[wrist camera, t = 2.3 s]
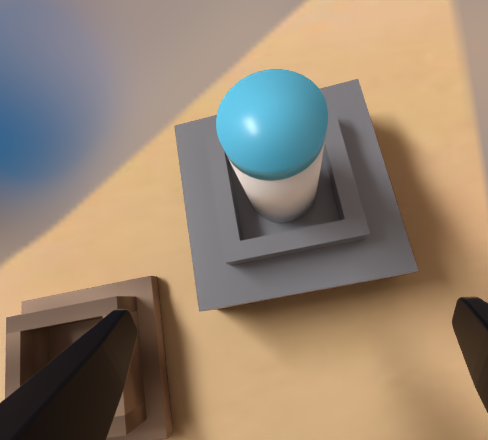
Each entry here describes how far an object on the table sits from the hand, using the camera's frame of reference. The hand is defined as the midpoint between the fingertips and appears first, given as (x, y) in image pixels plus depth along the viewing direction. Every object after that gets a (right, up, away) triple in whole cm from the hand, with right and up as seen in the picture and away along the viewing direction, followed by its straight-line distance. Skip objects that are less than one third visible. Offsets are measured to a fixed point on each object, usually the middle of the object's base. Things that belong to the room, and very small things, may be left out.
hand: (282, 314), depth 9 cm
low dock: (-11, -7, +14) cm, 19 cm away
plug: (+1, +4, +10) cm, 11 cm away
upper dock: (+2, +3, +14) cm, 15 cm away
